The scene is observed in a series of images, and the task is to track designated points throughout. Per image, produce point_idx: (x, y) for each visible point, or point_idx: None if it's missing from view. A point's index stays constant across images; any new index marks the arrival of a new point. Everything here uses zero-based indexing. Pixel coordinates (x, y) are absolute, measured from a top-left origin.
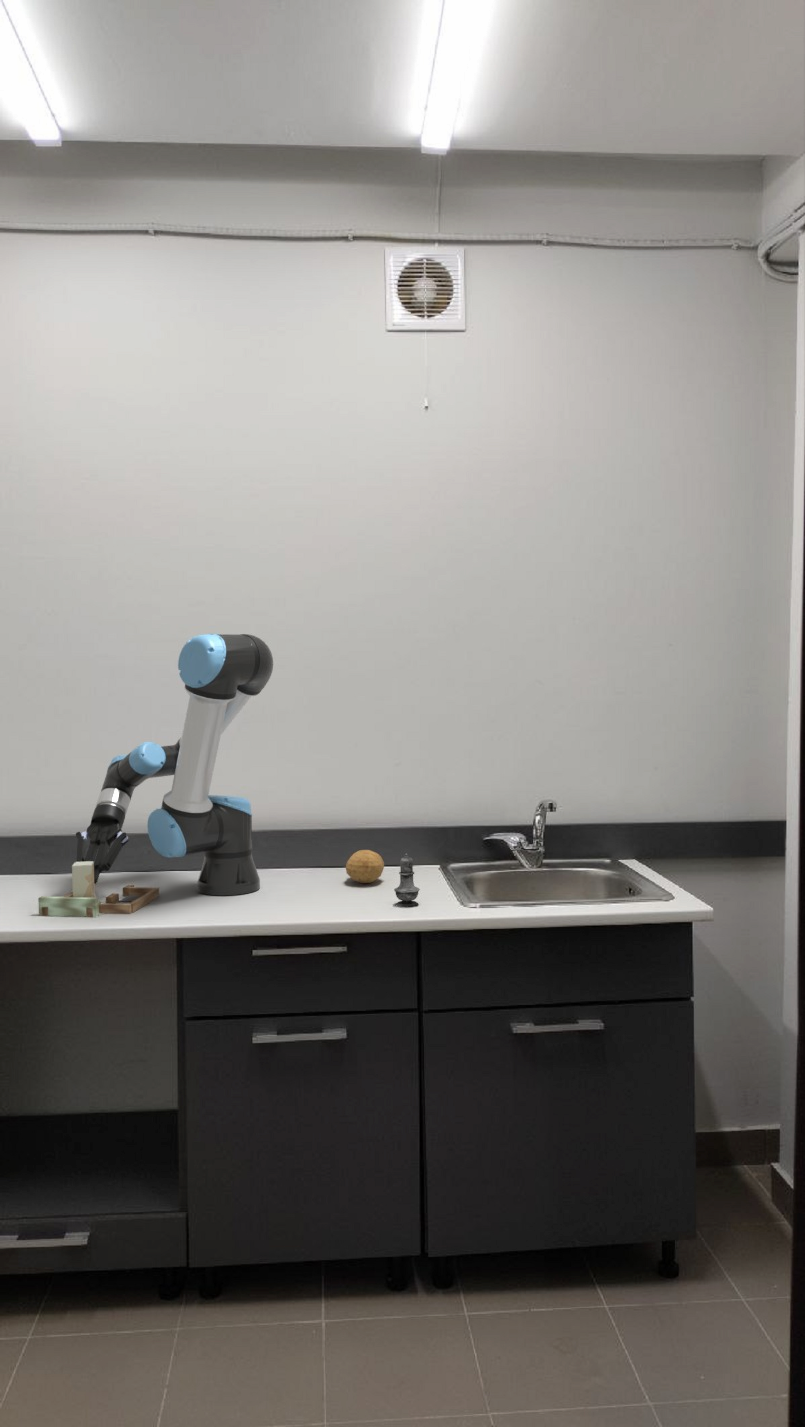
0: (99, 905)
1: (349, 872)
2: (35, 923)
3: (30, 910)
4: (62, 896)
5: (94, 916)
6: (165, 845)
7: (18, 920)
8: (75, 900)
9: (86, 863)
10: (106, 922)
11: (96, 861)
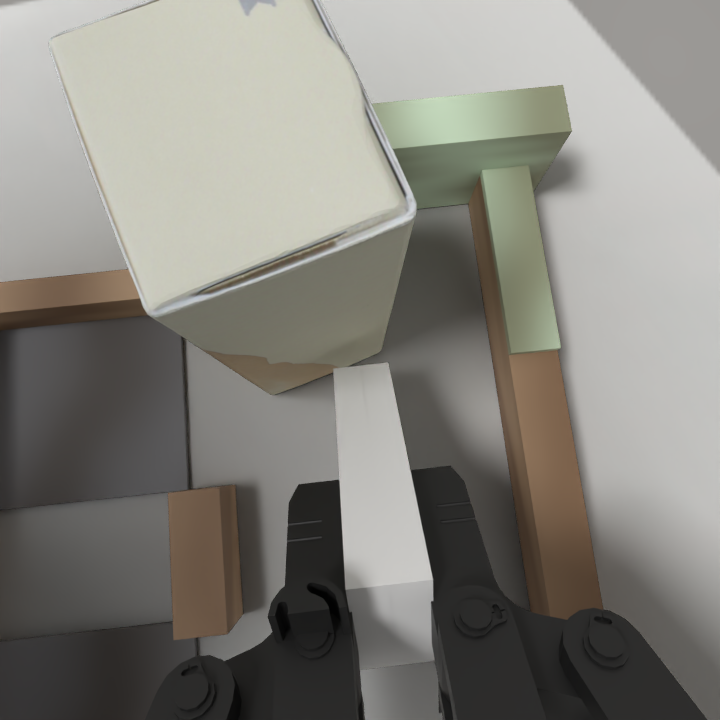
0: None
1: None
2: (432, 12)
3: (667, 268)
4: (573, 442)
5: None
6: None
7: (570, 48)
8: None
9: (149, 93)
10: (38, 104)
11: (325, 714)
